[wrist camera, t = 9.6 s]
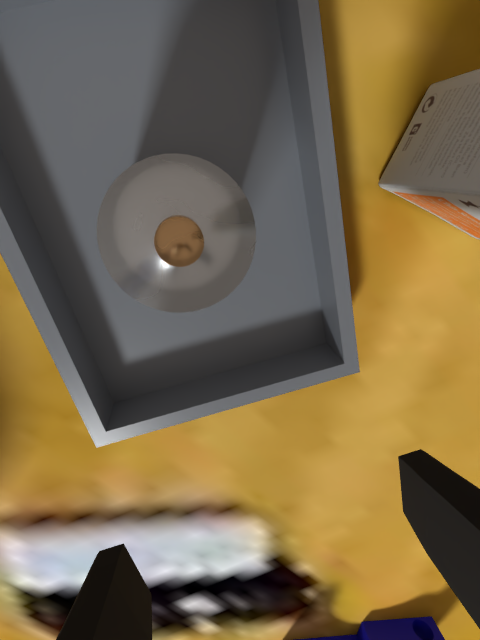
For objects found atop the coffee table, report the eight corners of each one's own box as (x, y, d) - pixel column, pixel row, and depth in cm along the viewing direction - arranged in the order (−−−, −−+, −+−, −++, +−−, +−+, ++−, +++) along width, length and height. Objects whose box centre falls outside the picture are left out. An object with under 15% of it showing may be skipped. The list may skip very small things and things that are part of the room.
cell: (143, 280, 15) (127, 337, 10) (106, 175, 13) (63, 176, 8) (240, 254, 15) (273, 296, 10) (215, 147, 13) (240, 133, 8)
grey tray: (108, 404, 18) (96, 447, 15) (-65, 16, 12) (-140, -31, 9) (332, 341, 18) (359, 371, 16) (276, -56, 12) (304, -123, 10)
